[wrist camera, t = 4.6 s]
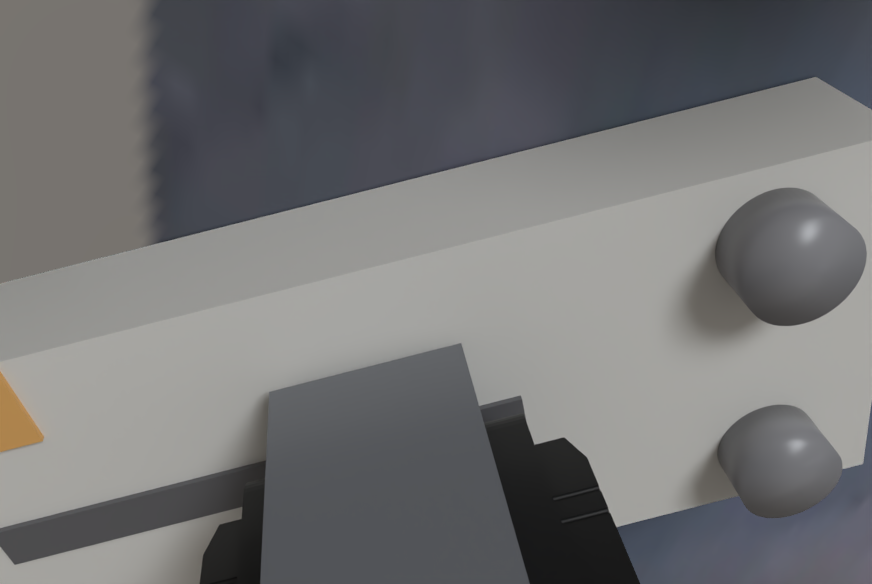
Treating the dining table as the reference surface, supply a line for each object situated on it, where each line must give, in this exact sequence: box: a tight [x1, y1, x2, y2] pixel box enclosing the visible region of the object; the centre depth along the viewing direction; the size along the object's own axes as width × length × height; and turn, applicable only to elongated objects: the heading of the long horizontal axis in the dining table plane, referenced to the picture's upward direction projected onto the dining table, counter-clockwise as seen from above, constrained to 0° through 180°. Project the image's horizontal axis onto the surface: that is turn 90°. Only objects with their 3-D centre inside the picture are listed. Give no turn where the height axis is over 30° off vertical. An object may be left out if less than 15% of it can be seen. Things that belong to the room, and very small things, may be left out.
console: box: [0, 77, 872, 584], centre depth 14 cm, size 16×7×4 cm, turn 102°
